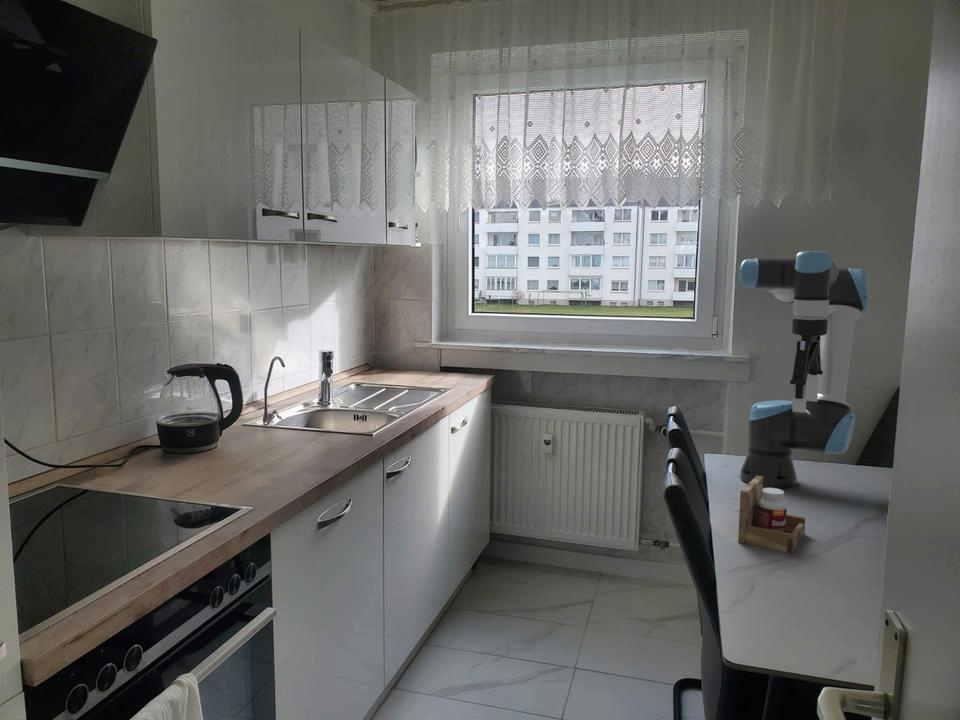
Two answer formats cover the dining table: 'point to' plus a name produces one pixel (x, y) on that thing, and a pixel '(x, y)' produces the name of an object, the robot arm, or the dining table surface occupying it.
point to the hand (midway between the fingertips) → (805, 406)
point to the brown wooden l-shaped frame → (763, 535)
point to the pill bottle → (772, 510)
